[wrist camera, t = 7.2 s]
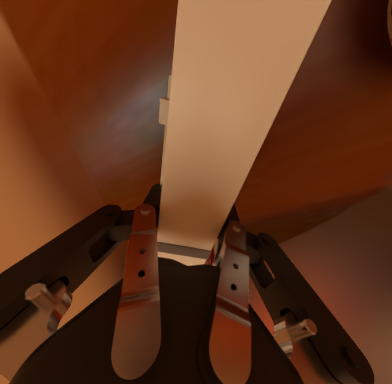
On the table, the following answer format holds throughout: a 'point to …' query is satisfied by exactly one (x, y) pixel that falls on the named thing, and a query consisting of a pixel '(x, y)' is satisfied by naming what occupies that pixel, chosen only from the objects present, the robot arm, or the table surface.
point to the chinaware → (389, 20)
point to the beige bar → (224, 108)
